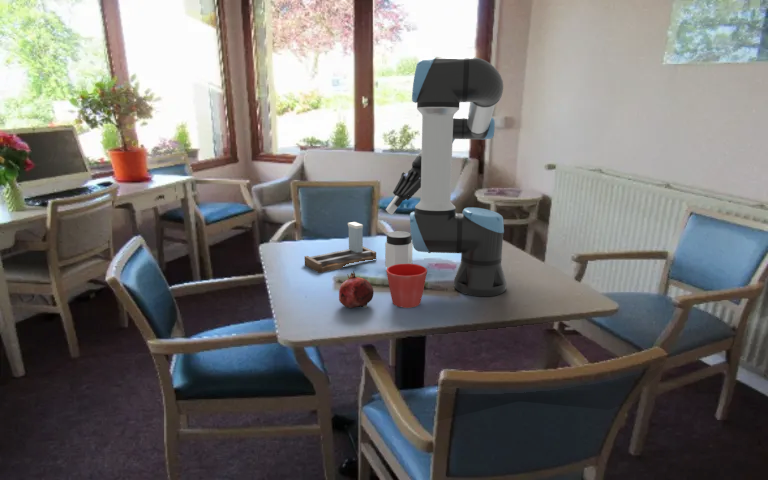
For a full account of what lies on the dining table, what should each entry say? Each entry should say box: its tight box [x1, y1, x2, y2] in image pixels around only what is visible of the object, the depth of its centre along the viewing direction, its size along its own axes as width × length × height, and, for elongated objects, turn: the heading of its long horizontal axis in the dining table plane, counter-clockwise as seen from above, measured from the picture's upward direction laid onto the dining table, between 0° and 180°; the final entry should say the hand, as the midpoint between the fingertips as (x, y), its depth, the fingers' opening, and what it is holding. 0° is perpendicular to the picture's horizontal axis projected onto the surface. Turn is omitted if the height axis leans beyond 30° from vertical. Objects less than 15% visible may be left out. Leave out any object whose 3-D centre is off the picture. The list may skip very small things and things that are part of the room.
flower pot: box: [385, 263, 428, 309], centre depth 135 cm, size 11×11×10 cm
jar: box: [384, 230, 414, 268], centre depth 161 cm, size 9×8×12 cm
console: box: [304, 246, 377, 274], centre depth 169 cm, size 22×10×3 cm, turn 125°
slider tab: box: [347, 221, 364, 254], centre depth 171 cm, size 3×5×11 cm, turn 35°
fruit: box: [338, 270, 375, 309], centre depth 132 cm, size 9×10×10 cm
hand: (388, 212), depth 177 cm, fingers closed
